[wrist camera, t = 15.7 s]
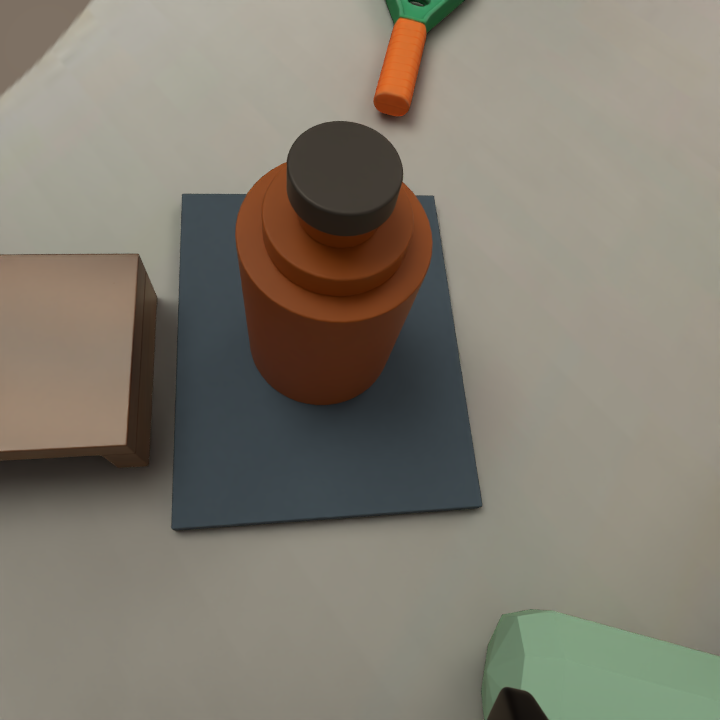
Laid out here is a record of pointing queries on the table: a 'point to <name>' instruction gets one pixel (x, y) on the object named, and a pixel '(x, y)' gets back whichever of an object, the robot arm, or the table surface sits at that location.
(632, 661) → the container
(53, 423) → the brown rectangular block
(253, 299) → the amber bottle
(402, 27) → the magnifying glass
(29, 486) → the table surface
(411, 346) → the placemat
